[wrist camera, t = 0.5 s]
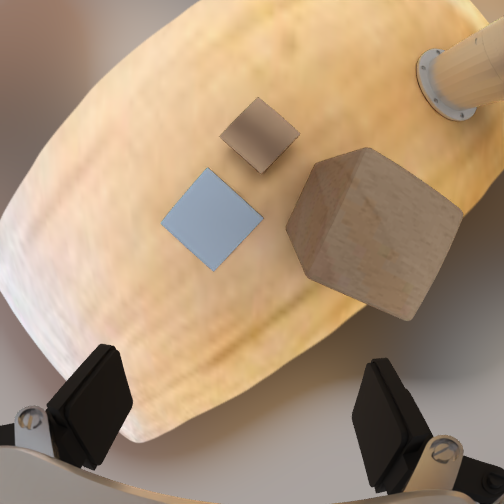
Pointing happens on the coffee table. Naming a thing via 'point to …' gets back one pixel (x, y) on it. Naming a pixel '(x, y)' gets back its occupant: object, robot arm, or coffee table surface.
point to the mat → (211, 219)
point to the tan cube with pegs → (259, 135)
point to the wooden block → (372, 231)
